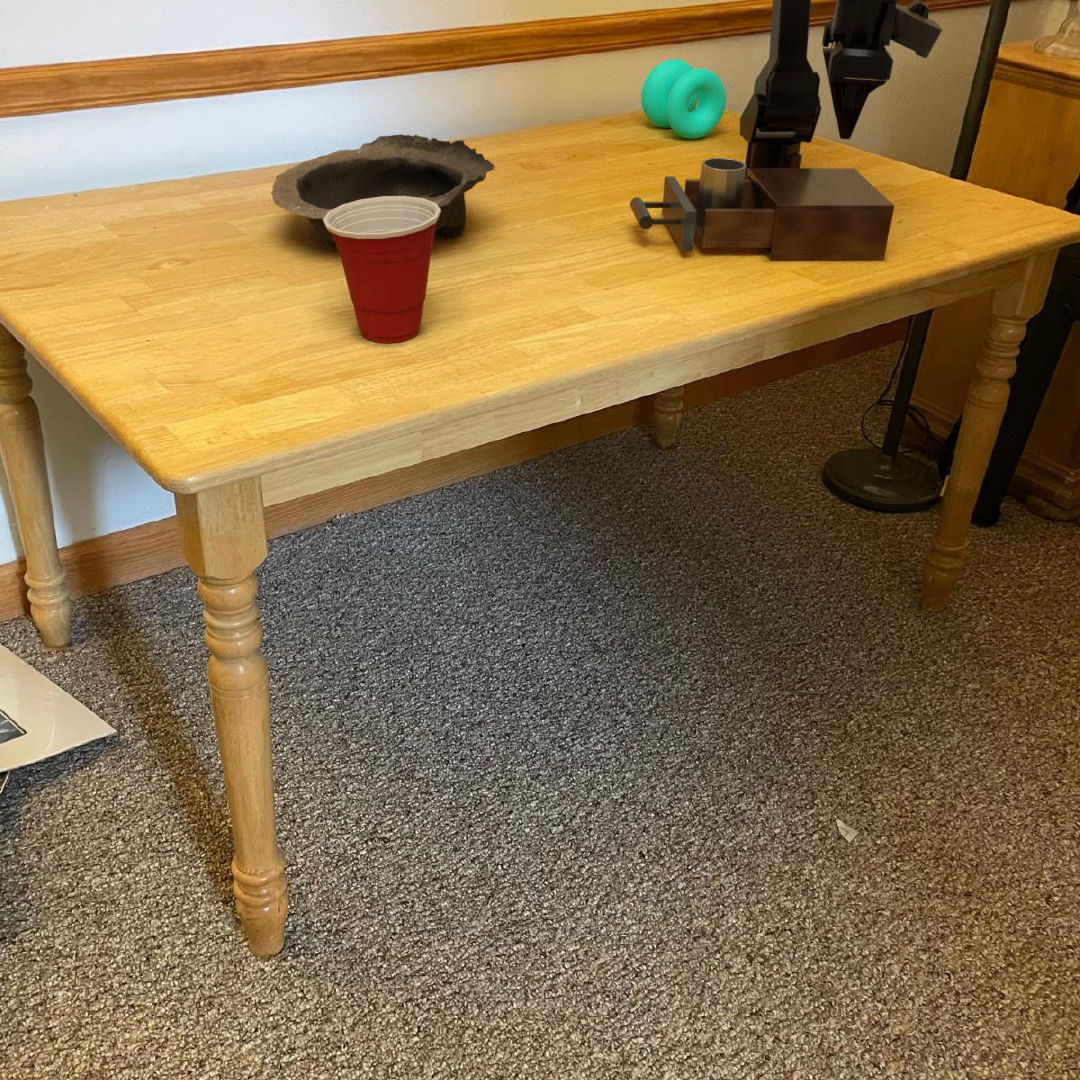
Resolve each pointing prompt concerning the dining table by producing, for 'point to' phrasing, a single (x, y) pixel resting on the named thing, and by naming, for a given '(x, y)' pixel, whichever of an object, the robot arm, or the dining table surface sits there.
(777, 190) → the cabinet
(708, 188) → the cup
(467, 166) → the stone bowl
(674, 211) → the drawer
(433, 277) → the dining table surface
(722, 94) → the teal yo-yo
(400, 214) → the plastic cup
